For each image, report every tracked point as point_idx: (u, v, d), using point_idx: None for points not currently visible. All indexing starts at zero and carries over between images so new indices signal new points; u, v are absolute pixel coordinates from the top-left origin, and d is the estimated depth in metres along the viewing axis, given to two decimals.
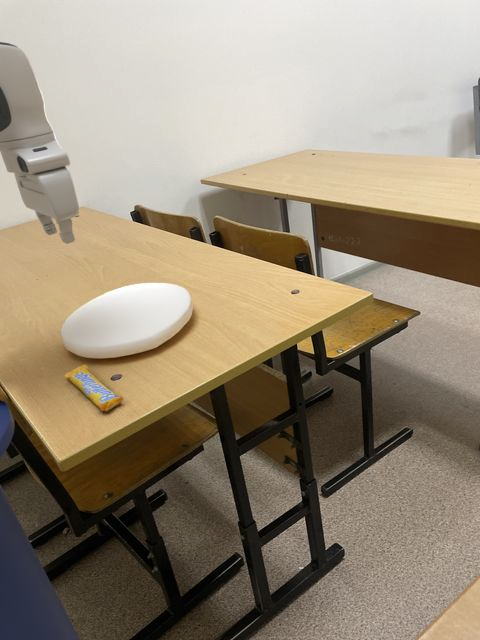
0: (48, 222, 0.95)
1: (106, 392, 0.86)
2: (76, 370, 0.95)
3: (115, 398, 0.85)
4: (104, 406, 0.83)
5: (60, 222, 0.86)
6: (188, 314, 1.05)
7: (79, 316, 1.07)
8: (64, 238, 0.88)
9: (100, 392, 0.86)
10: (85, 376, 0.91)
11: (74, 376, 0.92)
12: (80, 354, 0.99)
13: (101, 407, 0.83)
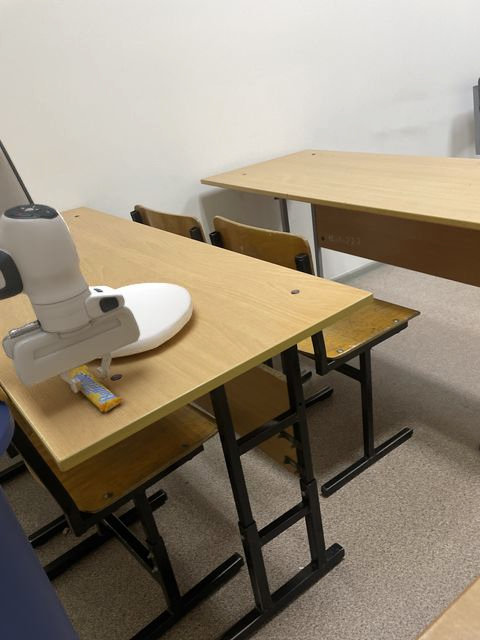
0: (72, 379, 0.87)
1: (105, 393, 0.86)
2: (75, 371, 0.95)
3: (114, 398, 0.85)
4: (103, 406, 0.83)
5: (110, 355, 0.89)
6: (188, 314, 1.05)
7: None
8: (109, 372, 0.90)
9: (100, 393, 0.86)
10: (84, 376, 0.91)
11: (74, 376, 0.92)
12: None
13: (100, 407, 0.83)
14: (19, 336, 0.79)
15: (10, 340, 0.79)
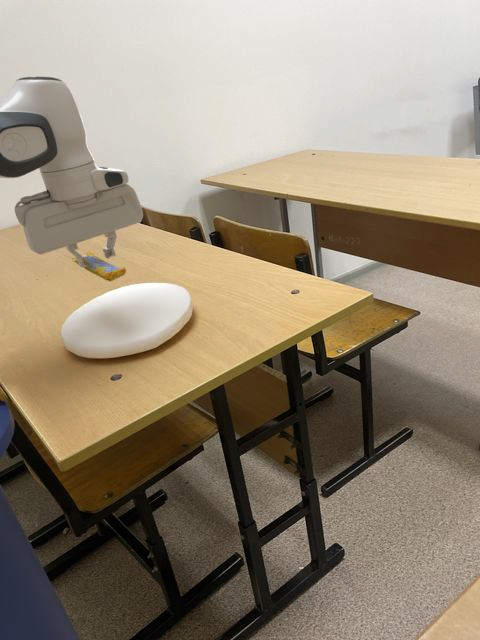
0: (80, 255, 0.93)
1: (110, 266, 0.92)
2: None
3: (119, 269, 0.90)
4: (108, 275, 0.89)
5: (115, 234, 0.95)
6: (188, 314, 1.05)
7: (79, 317, 1.07)
8: None
9: (105, 266, 0.92)
10: (91, 257, 0.97)
11: None
12: (80, 354, 0.99)
13: (106, 276, 0.89)
14: (30, 204, 0.85)
15: (22, 206, 0.85)
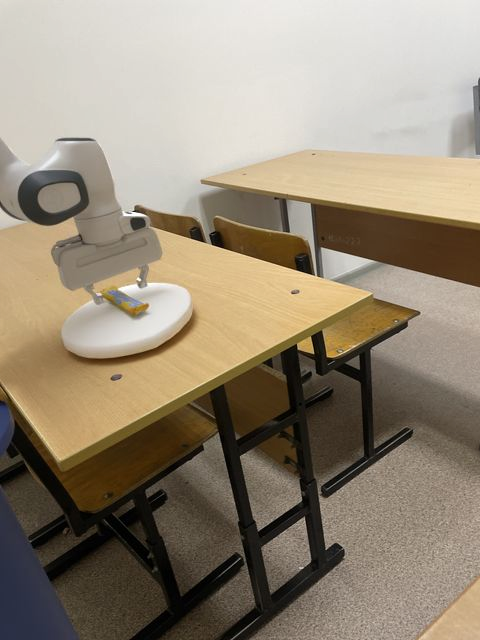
0: None
1: (134, 301, 1.03)
2: (107, 289, 1.12)
3: (142, 304, 1.01)
4: (133, 310, 1.00)
5: (147, 267, 1.06)
6: (188, 314, 1.05)
7: (79, 317, 1.07)
8: (146, 282, 1.07)
9: (130, 301, 1.03)
10: (115, 292, 1.08)
11: (106, 292, 1.09)
12: (80, 354, 0.99)
13: (131, 311, 1.00)
14: (64, 246, 0.96)
15: (57, 249, 0.95)
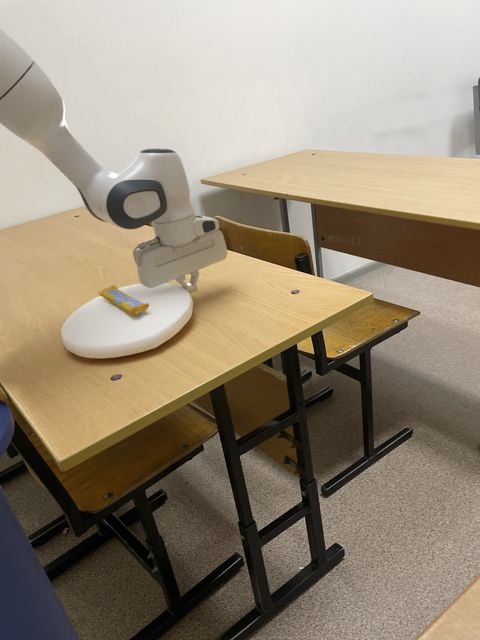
0: None
1: (134, 301, 1.03)
2: (107, 289, 1.12)
3: (142, 304, 1.01)
4: (133, 310, 1.00)
5: None
6: (188, 314, 1.05)
7: (79, 317, 1.07)
8: (196, 286, 1.15)
9: (130, 301, 1.03)
10: (115, 292, 1.08)
11: (106, 292, 1.09)
12: (80, 354, 0.99)
13: (131, 311, 1.00)
14: (145, 248, 1.05)
15: (139, 250, 1.05)
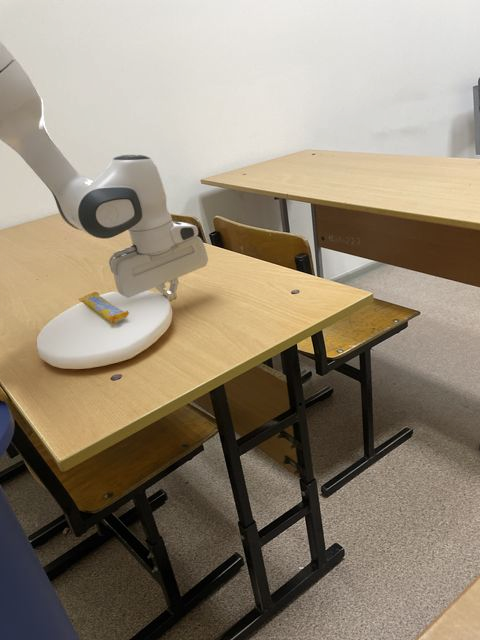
0: None
1: (114, 308, 1.01)
2: (89, 296, 1.10)
3: (122, 312, 0.99)
4: (113, 318, 0.98)
5: (177, 280, 1.11)
6: (166, 323, 1.02)
7: (55, 325, 1.04)
8: (176, 294, 1.12)
9: (110, 309, 1.01)
10: (96, 299, 1.06)
11: (87, 299, 1.07)
12: (54, 364, 0.97)
13: (110, 318, 0.98)
14: (121, 257, 1.03)
15: (115, 259, 1.02)
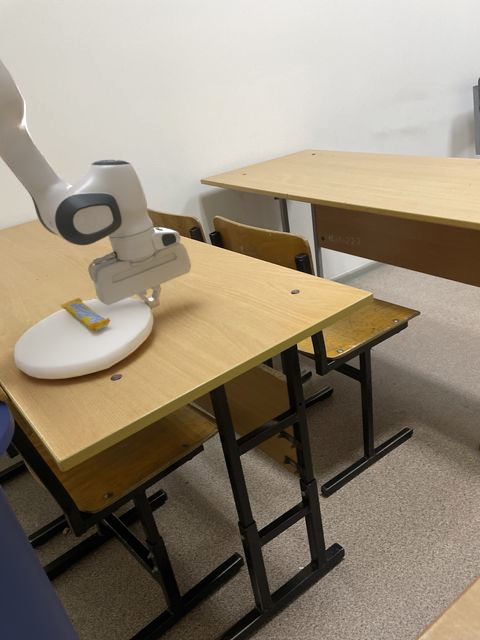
0: None
1: (95, 316, 0.99)
2: (71, 302, 1.08)
3: (103, 320, 0.98)
4: (93, 325, 0.96)
5: None
6: (145, 332, 1.00)
7: (34, 333, 1.03)
8: (158, 301, 1.10)
9: (91, 316, 0.99)
10: (78, 305, 1.05)
11: (69, 306, 1.05)
12: (30, 374, 0.95)
13: (90, 326, 0.96)
14: (101, 263, 1.01)
15: (94, 266, 1.00)
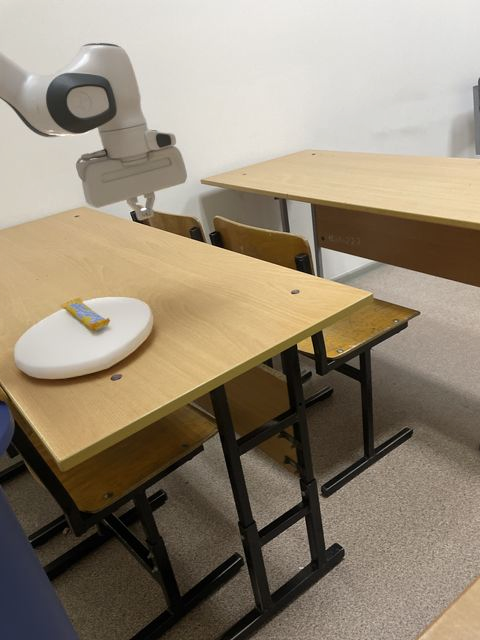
0: None
1: (95, 316, 0.99)
2: (71, 302, 1.08)
3: (103, 320, 0.98)
4: (93, 325, 0.96)
5: None
6: (145, 332, 1.00)
7: (34, 333, 1.03)
8: (152, 211, 1.03)
9: (91, 316, 0.99)
10: (78, 305, 1.05)
11: (69, 305, 1.05)
12: (30, 374, 0.95)
13: (90, 326, 0.96)
14: (90, 160, 0.94)
15: (83, 162, 0.93)
